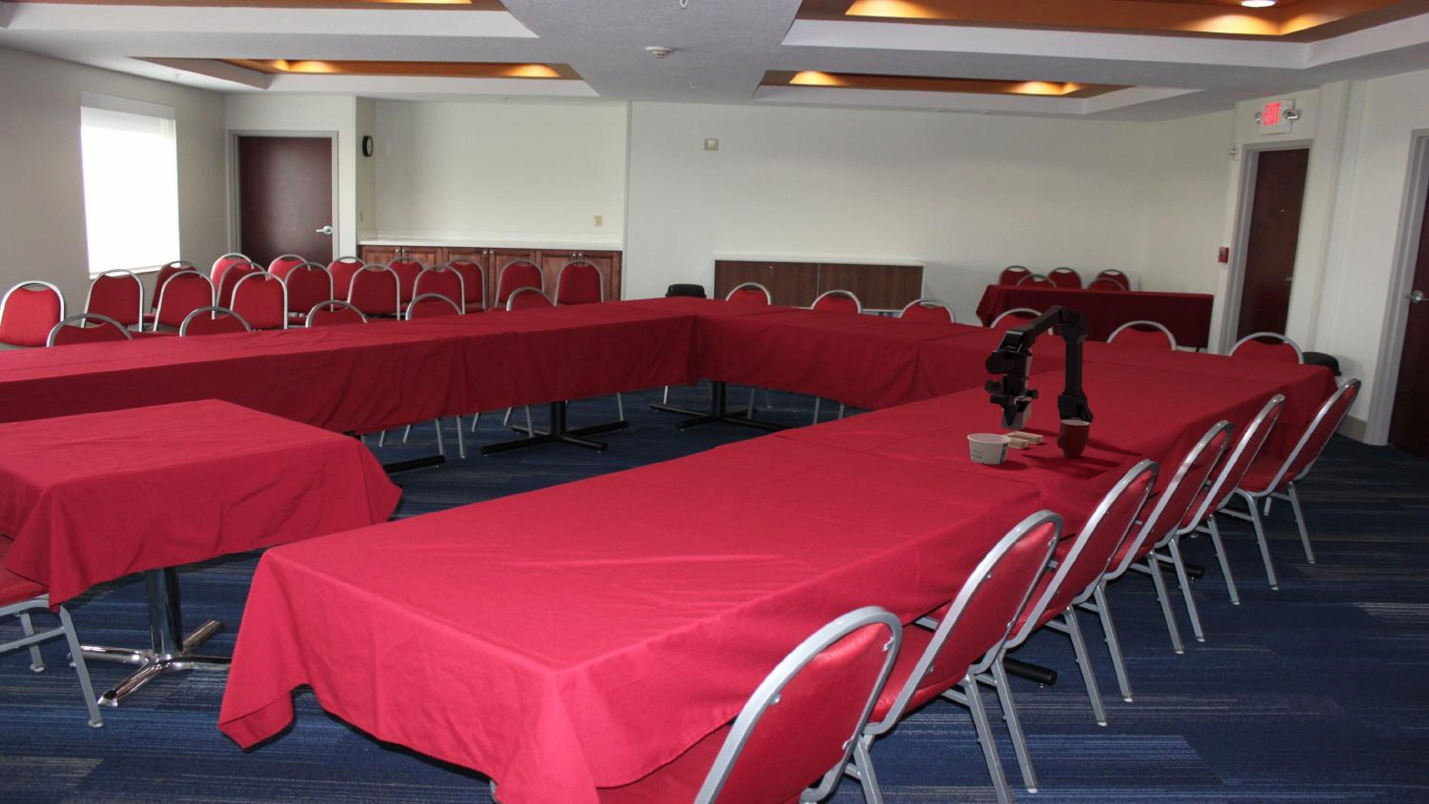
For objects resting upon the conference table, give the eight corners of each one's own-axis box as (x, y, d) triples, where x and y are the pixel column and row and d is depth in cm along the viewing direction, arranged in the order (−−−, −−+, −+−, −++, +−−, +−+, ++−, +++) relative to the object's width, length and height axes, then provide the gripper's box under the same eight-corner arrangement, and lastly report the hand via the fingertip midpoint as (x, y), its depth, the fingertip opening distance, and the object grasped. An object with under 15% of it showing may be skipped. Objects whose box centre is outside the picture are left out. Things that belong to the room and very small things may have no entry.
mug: (1072, 462, 301) (1075, 427, 299) (1047, 456, 307) (1049, 422, 305) (1092, 457, 308) (1095, 423, 306) (1067, 451, 314) (1070, 418, 312)
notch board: (1015, 437, 332) (1016, 431, 331) (1042, 442, 326) (1043, 435, 325) (993, 444, 322) (993, 437, 321) (1020, 449, 316) (1020, 442, 315)
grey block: (1006, 426, 314) (1007, 410, 313) (1022, 429, 311) (1023, 412, 310) (1001, 428, 312) (1002, 411, 311) (1017, 430, 308) (1018, 413, 307)
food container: (957, 458, 302) (958, 436, 301) (984, 453, 309) (985, 431, 308) (991, 467, 293) (993, 444, 292) (1018, 462, 300) (1020, 439, 299)
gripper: (1006, 366, 320) (1002, 416, 323) (974, 372, 307) (971, 425, 310) (1041, 370, 313) (1036, 422, 316) (1009, 376, 299) (1005, 431, 302)
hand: (1012, 425), depth 311 cm, fingers closed on grey block, 3 cm apart
